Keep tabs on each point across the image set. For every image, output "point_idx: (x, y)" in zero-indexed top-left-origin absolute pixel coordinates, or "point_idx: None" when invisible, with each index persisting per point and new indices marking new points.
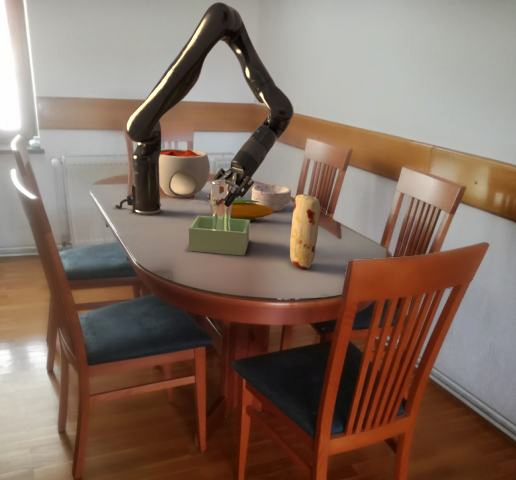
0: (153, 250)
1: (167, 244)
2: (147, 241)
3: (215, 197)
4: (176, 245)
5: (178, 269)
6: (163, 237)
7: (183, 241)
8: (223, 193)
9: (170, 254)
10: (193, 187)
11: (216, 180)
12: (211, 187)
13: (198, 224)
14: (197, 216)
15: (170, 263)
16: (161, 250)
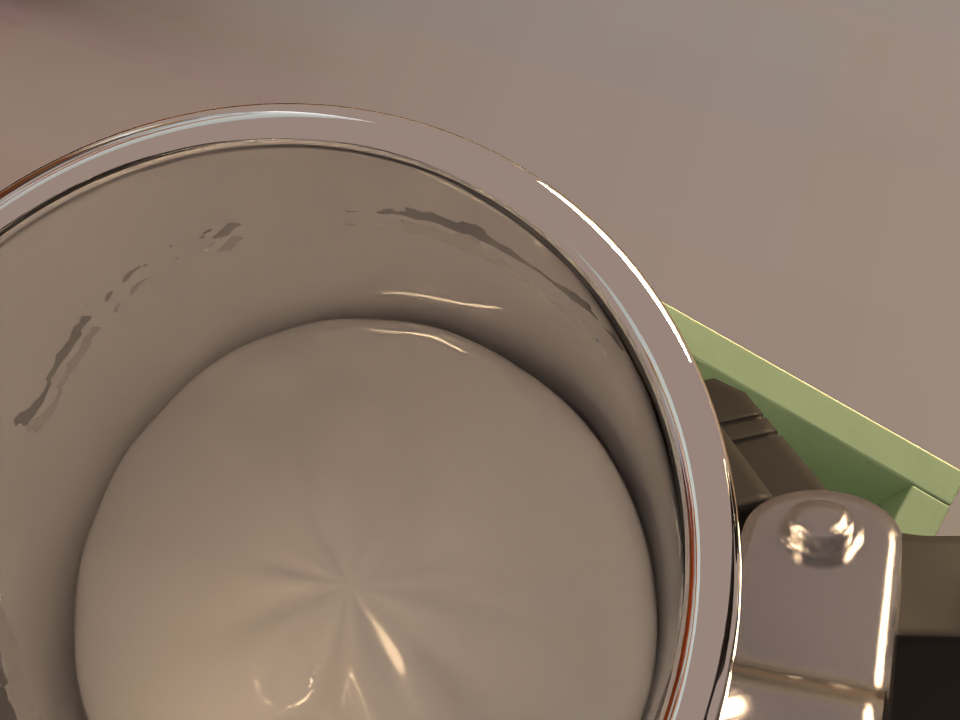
0: (535, 16)
1: (664, 159)
2: (795, 35)
3: (210, 332)
4: (612, 221)
5: (55, 54)
6: (895, 191)
7: (719, 324)
8: (4, 459)
9: (391, 102)
10: None
11: (679, 469)
12: (324, 190)
13: (800, 457)
14: (916, 453)
15: (195, 43)
16: (515, 69)
